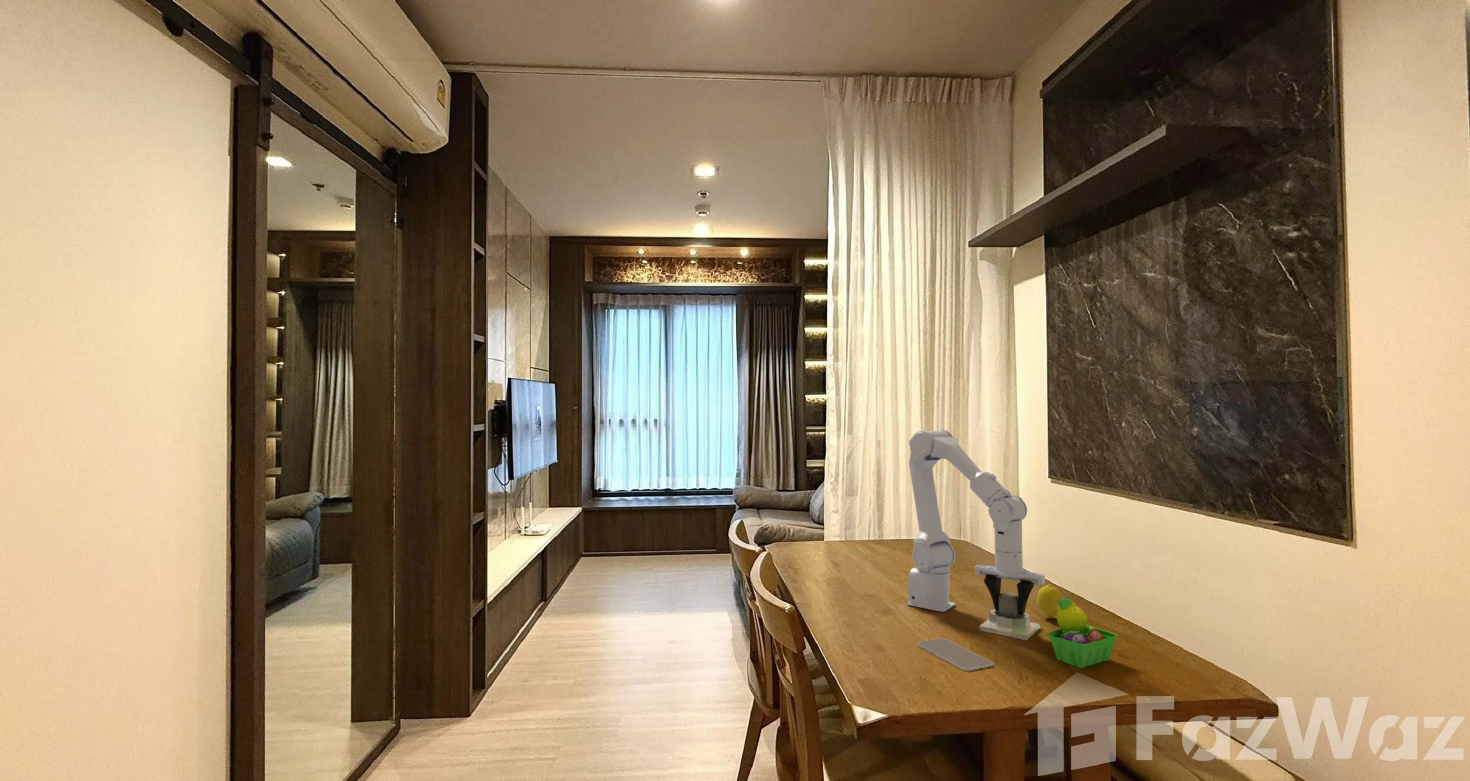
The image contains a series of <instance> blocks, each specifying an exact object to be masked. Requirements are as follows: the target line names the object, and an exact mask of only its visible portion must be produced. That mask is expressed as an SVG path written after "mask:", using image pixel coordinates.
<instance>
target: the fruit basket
mask: <svg viewBox="0 0 1470 781" xmlns="http://www.w3.org/2000/svg"><path fill="white" fill-rule="evenodd" d="M1088 619H1089V618H1088V615H1087V613H1086V612H1085V611H1084V610H1083V609H1082V608H1081V607H1079V605H1077V604H1076V603H1075V601H1072V599H1070V598H1068V597H1062V599H1060V600H1059V601H1058V605H1057V616H1056V621H1057V624H1058V625H1059V626H1058V627H1060V629H1057V630H1053V631H1050V632H1048V633H1047V634H1048V637H1049V639H1050V641H1051V644H1052V645H1051V646H1052V648H1053V650H1054V654H1055V658H1056V660H1058V661H1060V662H1063V663H1065V664H1067V665H1071V666H1074V667H1077V668H1079V669H1082V668H1083V669H1084V668H1086V667H1089V666H1094V665H1095V664H1096V663H1097V664H1100V663H1102V662H1107V661H1110V659H1111V655H1112V654H1111V653H1112V651H1113V647H1114V644H1115V641H1116V640H1117V637H1118V635H1117V634H1115V633H1114V632H1110V631H1107V630H1105V629H1100V628H1096V627H1094V626H1091V625H1087V622H1088Z"/></svg>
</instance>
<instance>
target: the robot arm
mask: <svg viewBox="0 0 1470 781" xmlns="http://www.w3.org/2000/svg"><path fill="white" fill-rule="evenodd" d="M908 442H909V444H908V445H909V449H910V457H909V461H908V466H909V471H910V478H911V485H912V492H913V498H914V505H915V510H916V511H915V512H916V516H917V517H916V518H917V524H918V531H919V532H918V534H917V535H916V536H915V538H914V539H913V541H912V545H913V550H912V553H911V554H912V555H911V556H912V561H913V564H914V566H915V567H912V568H911V570H910V571H909V574H908V602H907V605H908V606H911V607H915V608H921V609H927V610H932V611H936V612H941V613H944V612H947V611H949V610H950V609H951V608H953V607H955V606H956V602H952V601H950V570H951V566H952V565H953V564H954V563H955V560H956V552H955V550H954V547H953V545H952V544H951V539H950V536H948V535H947V533H945V531H943V529H942V522H941V516H940V512H939V503H938V498H937V492H936V486H935V485H936V484H935V480H934V479H935V478H934V472H933V468H934V467H935V466H936V465H937V464H938V462H939V461H940V460H942V459H943V460H947V461H949V463H950V464H952V466H954V467H955V469H957V470H958V472H960V473H961V474H962V475H963V476H964V477H965V478H967V480H969V488H970V490H971V491H972V492H973V494H975V496H977V497H978V499H980V500H981V502H982V503H983V504H984V506H986V507H987V508H988V509H987V510H988V515H989V518H990V519H991V520H992V523H993V528H994V565H993V566H992V565H983V564H977V565H975V566H974V575H975V576H981V575H982V576H985V577H984V579H983V582H984V584H985V586H986V588H987V590H988V592H989V594H990V597H991V600H992V604H993V609H995V610H997V611H998V594H1000V593H1001V587H1002V579H1005V580H1012V581H1019V582H1018V583H1016V588H1017V595H1018V598H1019V608H1018V611H1019V615H1023V614H1024V613H1026V608H1027V607H1026V606H1027V602H1028V599H1029V597H1030V594H1031V592H1032V590H1033V588H1034V586H1035V584H1037V585H1038V586H1039V585H1040V586H1043V585H1045V583H1046V580H1045V579H1046V576H1045V575H1046V574H1043V573H1037V572H1033V571H1029V570H1025V569H1024V567H1023V566H1024V565H1023V563H1024V562H1023V520H1024V519H1025V518H1026V517H1027V513H1028V508H1027V504H1026V502H1025V501H1024V499H1023V498H1022V497H1020V496H1019V495H1013V494H1011V491H1010V490H1009V489H1006V488H1005V487H1004V486H1003V485H1002V484H1001V483H1000V482H999V481H998V480H997V476H996V475H995V474H994V473H990V472H988V471H981V469H980V468H979V467H978V466H977V465H976V464H975V462H974V461H973V460H972V459H971V458H970V456H969V455H968V454H967V453H966V452H965V451H964V449H963V448H962V447H961V446H960V444H959V441H958V439H957V438H956V437H955V436H953V434H952V433H951V432H950V431H949V430H945V429H940V430H919V431H916V432H915V433H913V436H912V437H911V438H910V439H909V441H908Z"/></svg>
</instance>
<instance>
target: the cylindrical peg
mask: <svg viewBox="0 0 1470 781" xmlns="http://www.w3.org/2000/svg"><path fill="white" fill-rule="evenodd" d="M1018 608H1019V598H1018V593H1017V594H1016V593H1012V592H1000V594H998V613H999V616H1003V617H1008V618H1021V615H1019V611H1018Z"/></svg>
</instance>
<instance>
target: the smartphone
mask: <svg viewBox="0 0 1470 781" xmlns="http://www.w3.org/2000/svg"><path fill="white" fill-rule="evenodd" d="M916 646H917V647H918V648H920V649H921V650H924V651H925V652H927V653H929V654H931V655H933V656H935V657H936V658H938V659H940V660H942V661H944V662H946V663H948V664H949V665H952V667H955V668H957V669H959V670H961V671H963V672H973V671H976V670H980V669H982V670H983V669H989V668H993V667H994V663H993V661H991V660H988V659H987V658H984V657H983V656H981V655H979V654H977V653H975V652H973V651H971V650H968V649H966V648H965V647H962V646H960V645H959V644H957V643H954V642H953V641H951V640H949V639H946V638H934V639H928V640H927V639H926V640H920V641H918V642H917V645H916Z"/></svg>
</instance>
